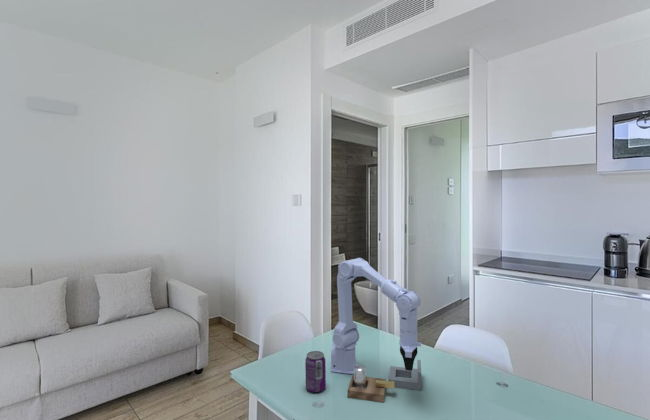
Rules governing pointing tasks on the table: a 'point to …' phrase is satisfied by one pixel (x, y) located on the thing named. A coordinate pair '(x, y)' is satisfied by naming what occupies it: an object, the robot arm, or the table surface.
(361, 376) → the steel peg
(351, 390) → the socket block
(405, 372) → the grey square frame
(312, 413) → the table surface
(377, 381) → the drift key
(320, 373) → the beverage can
